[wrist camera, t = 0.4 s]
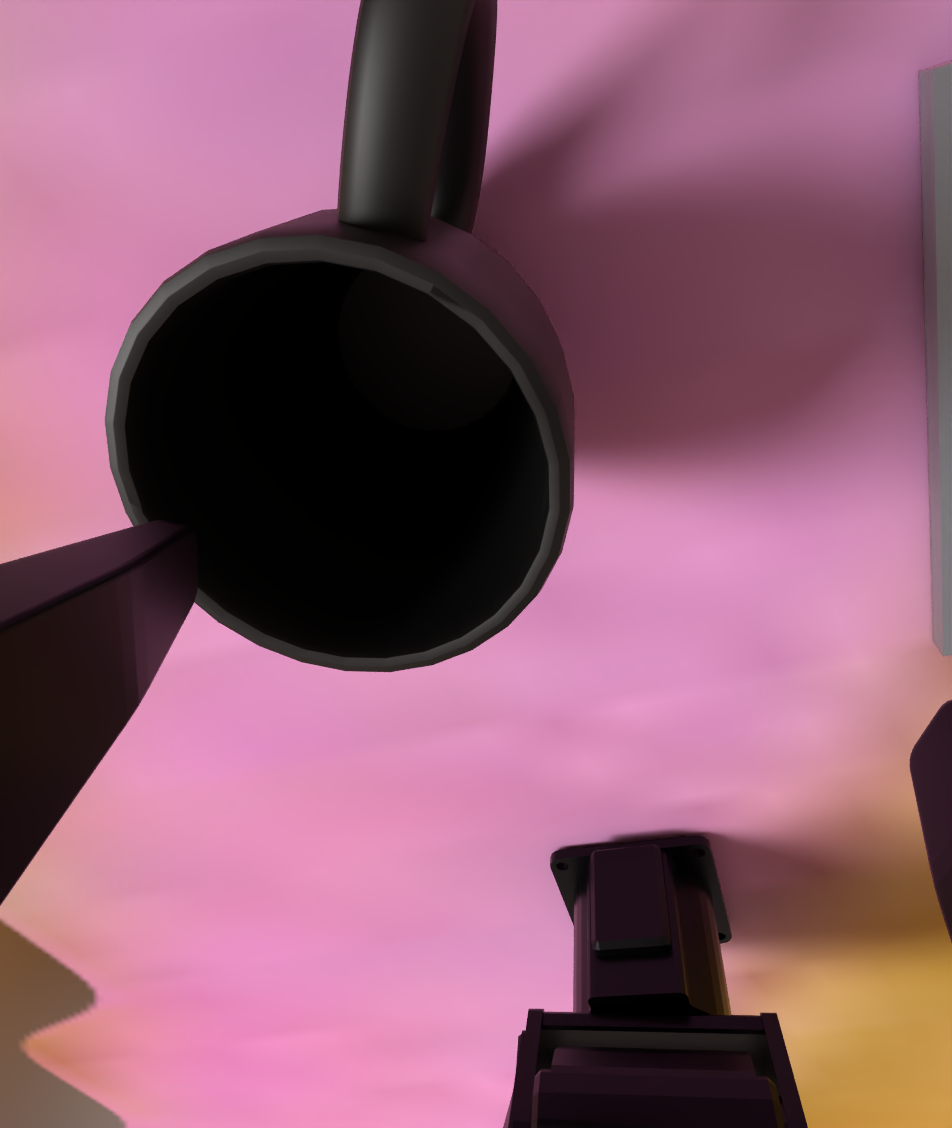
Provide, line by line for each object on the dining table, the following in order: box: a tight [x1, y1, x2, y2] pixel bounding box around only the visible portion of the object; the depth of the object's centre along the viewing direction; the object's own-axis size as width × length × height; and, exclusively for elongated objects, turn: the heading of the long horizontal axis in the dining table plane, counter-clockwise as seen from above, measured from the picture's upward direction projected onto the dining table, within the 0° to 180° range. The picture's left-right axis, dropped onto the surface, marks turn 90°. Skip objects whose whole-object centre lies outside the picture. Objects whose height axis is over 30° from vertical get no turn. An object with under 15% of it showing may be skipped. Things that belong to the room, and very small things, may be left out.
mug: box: [105, 0, 574, 672], centre depth 16 cm, size 8×12×10 cm
